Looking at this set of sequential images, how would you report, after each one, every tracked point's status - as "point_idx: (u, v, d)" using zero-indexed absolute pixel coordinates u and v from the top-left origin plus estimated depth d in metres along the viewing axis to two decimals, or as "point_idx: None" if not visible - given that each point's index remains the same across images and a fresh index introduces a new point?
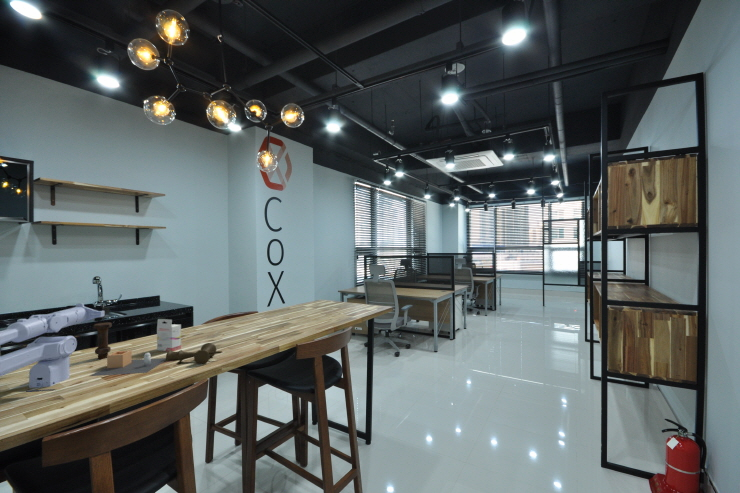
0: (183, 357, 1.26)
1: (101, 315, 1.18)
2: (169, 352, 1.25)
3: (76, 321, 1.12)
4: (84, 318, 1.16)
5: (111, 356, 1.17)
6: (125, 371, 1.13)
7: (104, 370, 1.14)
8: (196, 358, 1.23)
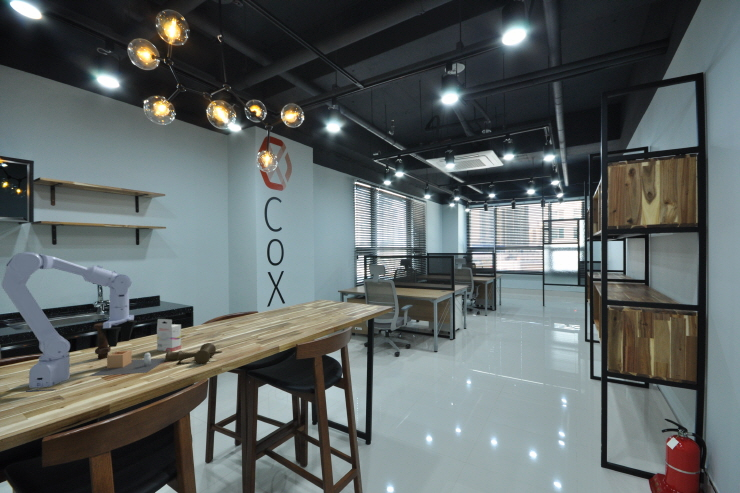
0: (183, 357, 1.25)
1: (104, 323, 1.13)
2: (168, 352, 1.24)
3: (110, 307, 1.17)
4: (111, 317, 1.17)
5: (111, 356, 1.17)
6: (125, 371, 1.13)
7: (104, 370, 1.14)
8: (196, 358, 1.23)
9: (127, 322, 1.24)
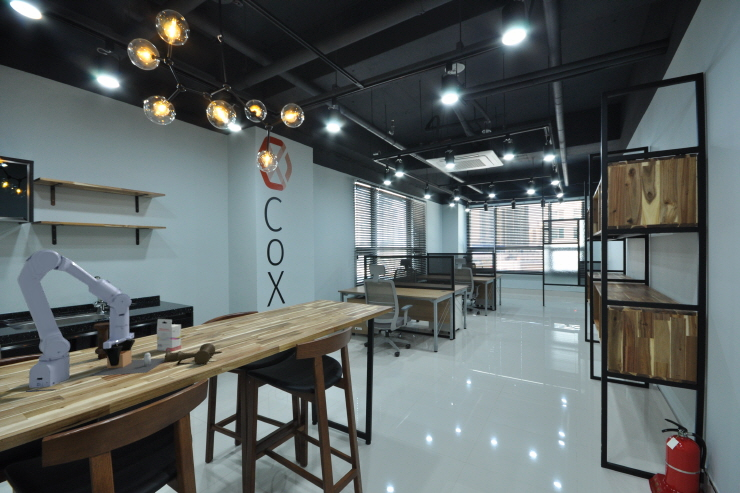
0: (182, 358, 1.25)
1: (104, 344, 1.13)
2: (168, 353, 1.24)
3: (110, 327, 1.17)
4: (111, 336, 1.17)
5: None
6: (125, 371, 1.13)
7: (104, 370, 1.14)
8: (196, 359, 1.23)
9: (126, 341, 1.23)
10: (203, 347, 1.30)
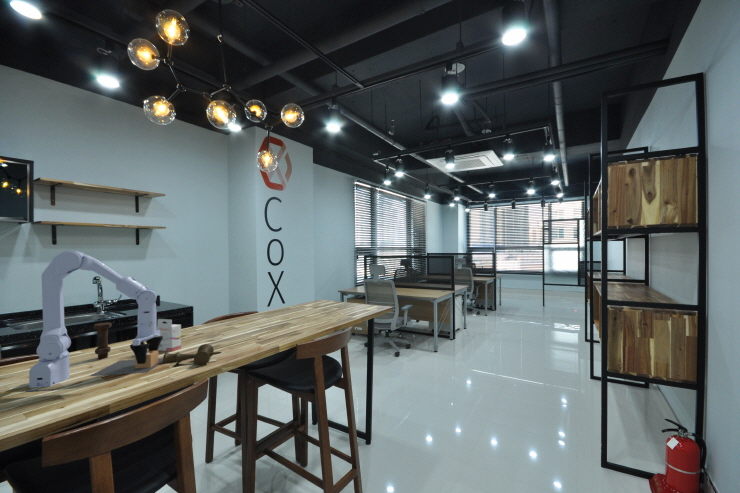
0: (181, 359, 1.23)
1: (134, 341, 1.12)
2: (166, 354, 1.22)
3: (139, 324, 1.17)
4: (139, 333, 1.17)
5: None
6: (125, 371, 1.13)
7: (104, 370, 1.14)
8: (196, 359, 1.22)
9: (154, 338, 1.23)
10: (202, 348, 1.29)
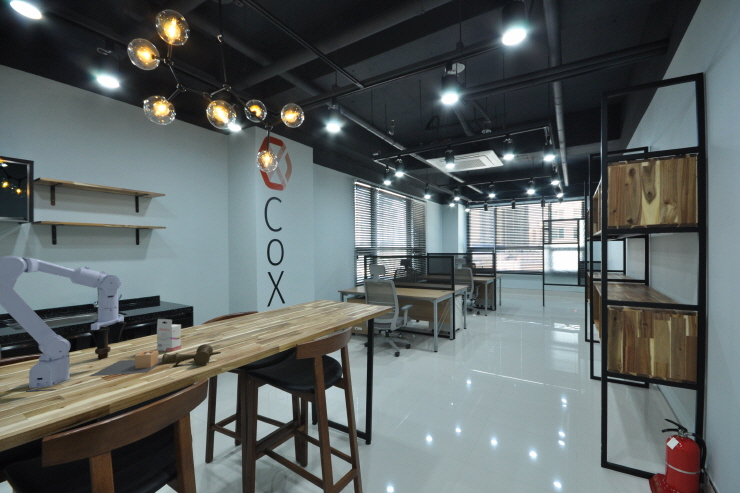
0: (180, 360, 1.23)
1: (92, 325, 1.10)
2: (165, 355, 1.21)
3: (99, 309, 1.15)
4: (99, 318, 1.15)
5: (139, 356, 1.16)
6: (125, 371, 1.13)
7: (104, 370, 1.14)
8: (196, 360, 1.21)
9: (116, 323, 1.21)
10: (201, 348, 1.28)
